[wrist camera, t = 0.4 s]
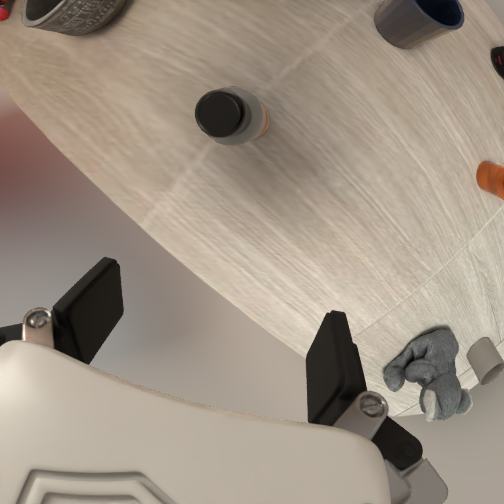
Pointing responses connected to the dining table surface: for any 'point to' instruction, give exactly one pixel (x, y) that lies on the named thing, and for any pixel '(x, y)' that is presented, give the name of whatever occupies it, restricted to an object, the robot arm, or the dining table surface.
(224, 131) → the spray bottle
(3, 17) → the brown multicoloured lumpy piece
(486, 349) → the cup
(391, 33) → the tumbler
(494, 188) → the plunger
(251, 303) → the dining table surface
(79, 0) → the planter
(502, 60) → the beverage can
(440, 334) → the koala plush
